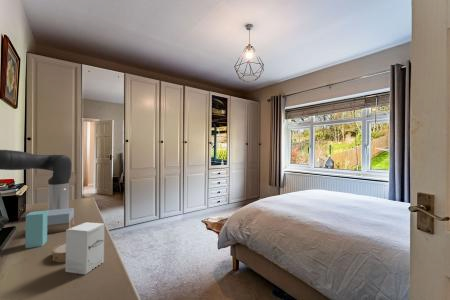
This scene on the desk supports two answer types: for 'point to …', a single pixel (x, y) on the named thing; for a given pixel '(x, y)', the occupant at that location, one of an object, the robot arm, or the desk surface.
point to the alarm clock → (59, 252)
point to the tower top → (59, 216)
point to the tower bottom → (60, 226)
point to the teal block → (36, 229)
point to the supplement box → (84, 247)
